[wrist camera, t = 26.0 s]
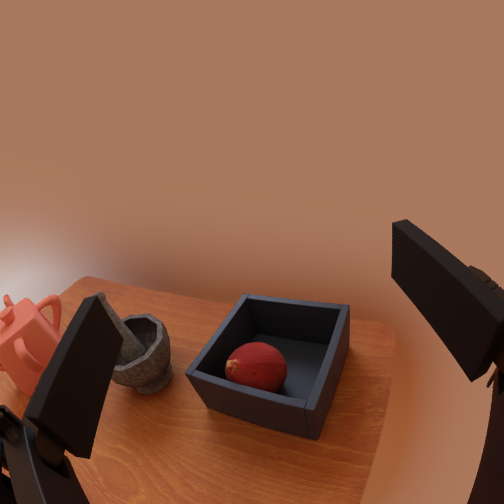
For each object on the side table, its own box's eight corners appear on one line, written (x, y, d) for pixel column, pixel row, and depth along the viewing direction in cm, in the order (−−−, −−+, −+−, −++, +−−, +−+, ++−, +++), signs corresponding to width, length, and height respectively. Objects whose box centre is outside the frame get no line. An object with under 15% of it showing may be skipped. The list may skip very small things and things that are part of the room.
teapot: (69, 405, 29) (11, 337, 23) (9, 405, 28) (-40, 348, 22) (92, 330, 44) (56, 269, 38) (36, 342, 43) (2, 290, 37)
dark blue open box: (349, 345, 31) (349, 304, 28) (317, 440, 22) (314, 410, 19) (255, 331, 37) (243, 293, 34) (206, 407, 28) (184, 373, 25)
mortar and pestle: (199, 369, 33) (160, 295, 27) (146, 418, 27) (88, 351, 22) (152, 337, 40) (116, 271, 34) (106, 374, 34) (61, 310, 29)
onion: (276, 410, 27) (224, 411, 21) (247, 376, 31) (195, 366, 25) (311, 371, 26) (265, 363, 21) (278, 338, 31) (229, 321, 25)
